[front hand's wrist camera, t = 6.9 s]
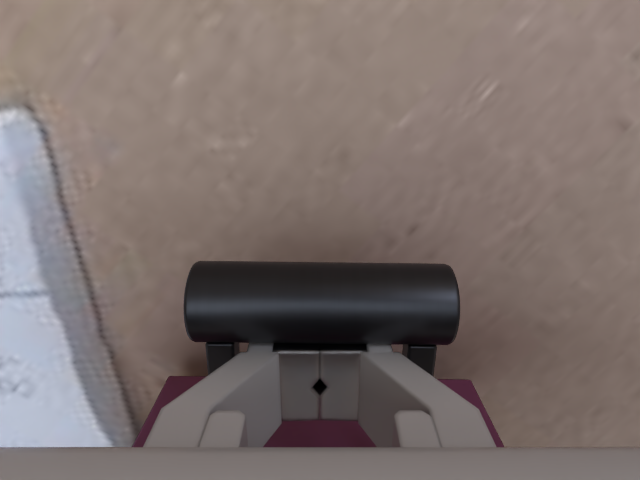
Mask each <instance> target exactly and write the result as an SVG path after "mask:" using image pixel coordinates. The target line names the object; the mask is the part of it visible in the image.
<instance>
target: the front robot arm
mask: <svg viewBox="0 0 640 480" xmlns="http://www.w3.org/2000/svg"><path fill="white" fill-rule="evenodd" d="M310 420H328V421H358V424H359V425H360V426H361V427H362V429H363V430H364V431H365V433H366V434H367V435H368V436H369V438H370V439H371V440H372V441H373V443H374V444H375V445H376V447H263V446H264V445H265V444H266V443H267V441H268V440H269V439H270V438H271V436H272V435H273V434H274V433H275V431H276V430H277V429H278V427H279V426H280V425H281V424H282V421H310ZM0 480H640V447H496V445H495V443H494V440H493V438H492V436H491V434H490V432H489V430H488V428H487V426H486V423H485V421H484V419H483V417H482V415H481V413H480V411H479V409H478V408H476V407H475V406H474V405H472V404H471V403H469V402H468V401H467V400H465V399H464V398H462V397H461V396H460V395H458V394H457V393H455V392H454V391H453V390H451V389H450V388H448V387H447V386H446V385H444V384H443V383H441V382H440V381H439V380H437V379H436V378H434V377H433V376H432V375H430V374H429V373H427V372H426V371H425V370H423V369H422V368H420V367H419V366H418V365H416V364H415V363H413V362H412V361H411V360H409V359H408V358H406V357H405V356H404V355H402V354H401V353H399V352H393V350H392V347H391V344H327V343H249V345H248V349H247V352H240V353H239V354H237V355H236V356H235V357H233V358H232V359H230V360H229V361H228V362H226V363H225V364H223V365H222V366H221V367H219V368H218V369H216V370H215V371H214V372H212V373H211V374H209V375H208V376H206V377H205V378H204V379H202V380H201V381H199V382H198V383H197V384H195V385H194V386H192V387H191V388H190V389H188V390H187V391H185V392H184V393H182V394H181V395H180V396H178V397H177V398H175V399H174V400H173V401H171V402H170V403H168V404H167V405H166V406H164V407H163V408H161V410H160V412H159V414H158V417H157V419H156V421H155V423H154V425H153V427H152V429H151V431H150V433H149V435H148V437H147V440H146V442H145V444H144V446H143V447H0Z"/></svg>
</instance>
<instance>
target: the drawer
mask: <svg viewBox="0 0 640 480" xmlns="http://www.w3.org/2000/svg"><path fill="white" fill-rule="evenodd" d="M459 319H460V297H459V289H458V284H457V280H456V277H455V274H454V272H453V270H452V268H451V267H450V266H448V265H446V264H412V263H328V262H244V261H198V262H196V263H195V264H194V265H193V266H192V268H191V270H190V272H189V275H188V278H187V282H186V287H185V294H184V321H185V327H186V331H187V334H188V336H189V338H190V339H191V340H192V341H194V342H206V355H207V366H208V375H209V374H211V373H212V372H214V371H215V370H216V369H218V368H219V367H221V366H222V365H223V364H225V363H226V362H228V361H229V360H230V359H232V358H233V357H235V356H236V355H237V354H239V353H240V351H239V342H242V343H327V344H403V351H402V355H404V356H405V357H406V358H408V359H409V360H411V361H412V362H413V363H415V364H416V365H418V366H419V367H420V368H422V369H423V370H425V371H426V372H427V373H429V374H430V375H432V376H433V374H434V366H435V358H436V350H437V347H436V345H448V344H450V343H452V342H453V341H454V339H455V337H456V334H457V331H458V326H459ZM204 378H205V376H170V377H168V379H167V381H166V383H165V385H164V387H163V389H162V391H161V392H160V394H159V396H158V398H157V400H156V402H155V404H154V406H153V408H152V410H151V412H150V414H149V415H148V417H147V419H146V421H145V423H144V425H143V427H142V429H141V431H140V433H139V435H138V436H137V438H136V440H135V442H134V444H133V446H132V447H143V446H144V444H145V442H146V440H147V437H148V435H149V433H150V431H151V429H152V427H153V425H154V423H155V421H156V419H157V417H158V414H159V412H160V410H161V408H163V407H164V406H166V405H167V404H168V403H170V402H171V401H173V400H174V399H175V398H177V397H178V396H180V395H181V394H182V393H184V392H185V391H187V390H188V389H190V388H191V387H192V386H194V385H195V384H197V383H198V382H199V381H201V380H202V379H204ZM437 380H439V381H440V382H441V383H443V384H444V385H446V386H447V387H448V388H450V389H451V390H453V391H454V392H455V393H457V394H458V395H460V396H461V397H462V398H464V399H465V400H467V401H468V402H469V403H471V404H472V405H474V406H475V407H476V408H478V409H479V411H480V413H481V415H482V417H483V419H484V421H485V423H486V426H487V428H488V430H489V432H490V434H491V436H492V438H493V440H494V443H495V445H496V447H504V445H503V443H502V441H501V439H500V437H499V435H498V434H497V432H496V430H495V428H494V426H493V424H492V422H491V420H490V418H489V416H488V414H487V412H486V410H485V408H484V406H483V404H482V402H481V400H480V398H479V396H478V394H477V392H476V390H475V388H474V386H473V384H472V382H471V380H462V379H437ZM263 447H376V445H375V444H374V443H373V441H372V440H371V439H370V438H369V436H368V435H367V434H366V433H365V431H364V430H363V429H362V427H361V426H360V425H359V424H358V421H328V420H310V421H282V424H281V425H280V426H279V427H278V429H277V430H276V431H275V433H274V434H273V435H272V436H271V438H270V439H269V440H268V441H267V443H266V444H265V445H264V446H263Z"/></svg>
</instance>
